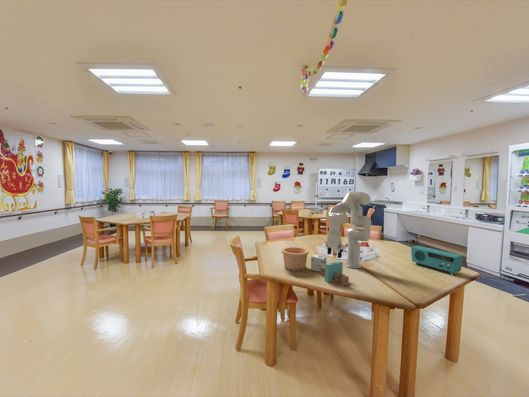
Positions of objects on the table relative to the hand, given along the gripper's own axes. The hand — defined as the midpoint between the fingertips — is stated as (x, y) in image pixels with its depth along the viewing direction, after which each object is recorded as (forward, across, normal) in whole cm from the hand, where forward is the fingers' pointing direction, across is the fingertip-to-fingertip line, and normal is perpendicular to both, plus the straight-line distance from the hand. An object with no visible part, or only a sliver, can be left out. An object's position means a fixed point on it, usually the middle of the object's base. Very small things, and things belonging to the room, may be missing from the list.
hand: (334, 255), depth 168 cm
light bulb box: (+18, -20, +4) cm, 27 cm away
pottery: (+17, -33, -10) cm, 39 cm away
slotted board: (+17, 0, -1) cm, 17 cm away
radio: (+19, +22, +88) cm, 93 cm away
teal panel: (+17, 0, -1) cm, 17 cm away
